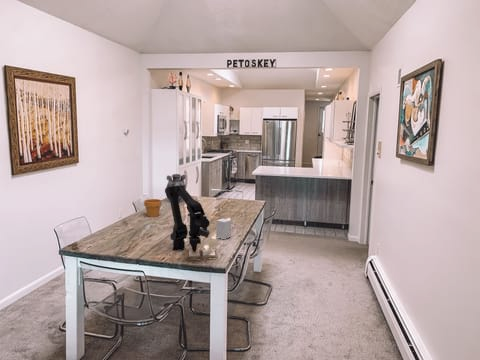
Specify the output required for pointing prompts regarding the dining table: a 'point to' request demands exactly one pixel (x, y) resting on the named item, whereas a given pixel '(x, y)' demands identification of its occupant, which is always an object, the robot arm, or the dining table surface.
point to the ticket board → (201, 255)
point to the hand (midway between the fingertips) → (194, 251)
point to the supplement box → (223, 228)
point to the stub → (194, 253)
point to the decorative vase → (176, 181)
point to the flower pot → (152, 207)
